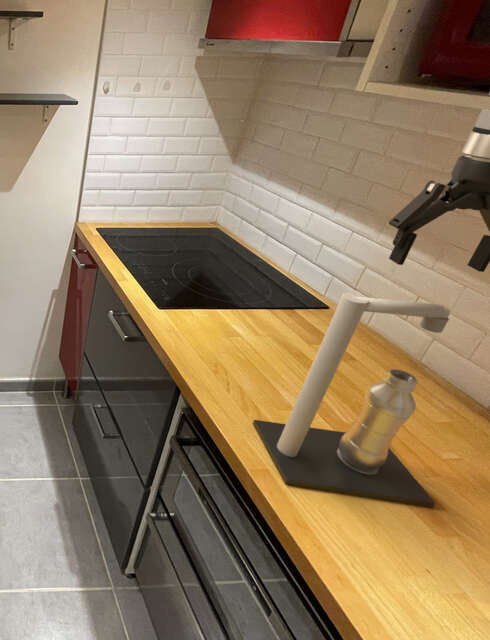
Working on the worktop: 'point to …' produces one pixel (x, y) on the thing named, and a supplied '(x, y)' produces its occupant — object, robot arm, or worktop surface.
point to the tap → (323, 445)
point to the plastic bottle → (379, 420)
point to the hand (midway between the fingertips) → (434, 265)
